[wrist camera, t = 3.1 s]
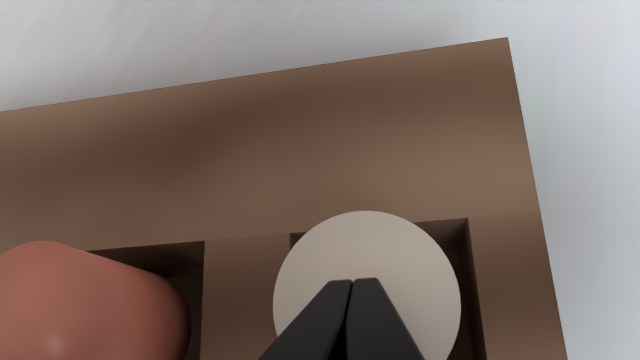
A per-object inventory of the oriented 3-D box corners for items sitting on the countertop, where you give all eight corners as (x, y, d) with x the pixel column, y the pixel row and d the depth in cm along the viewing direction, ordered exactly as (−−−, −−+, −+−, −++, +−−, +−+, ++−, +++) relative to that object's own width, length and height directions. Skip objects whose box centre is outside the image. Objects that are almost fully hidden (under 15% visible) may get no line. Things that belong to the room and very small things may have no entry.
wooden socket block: (534, 414, 16) (582, 439, 11) (-53, 425, 21) (-234, 447, 15) (488, 128, 20) (507, 37, 14) (-8, 186, 24) (-141, 132, 18)
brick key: (188, 397, 14) (89, 410, 10) (73, 400, 14) (-63, 414, 10) (194, 268, 15) (108, 234, 11) (87, 276, 15) (-30, 246, 12)
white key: (462, 389, 12) (473, 401, 8) (322, 393, 13) (273, 405, 9) (445, 248, 14) (448, 202, 10) (318, 258, 14) (272, 218, 10)
